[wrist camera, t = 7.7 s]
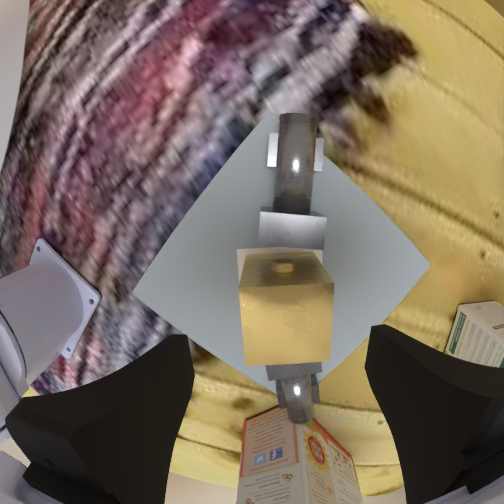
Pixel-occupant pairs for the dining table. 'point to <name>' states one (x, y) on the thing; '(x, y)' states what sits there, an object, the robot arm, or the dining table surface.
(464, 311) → the syrup box
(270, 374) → the shaft
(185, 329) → the board
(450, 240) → the dining table surface
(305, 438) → the cracker box
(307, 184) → the shaft
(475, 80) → the dining table surface
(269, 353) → the tan block
